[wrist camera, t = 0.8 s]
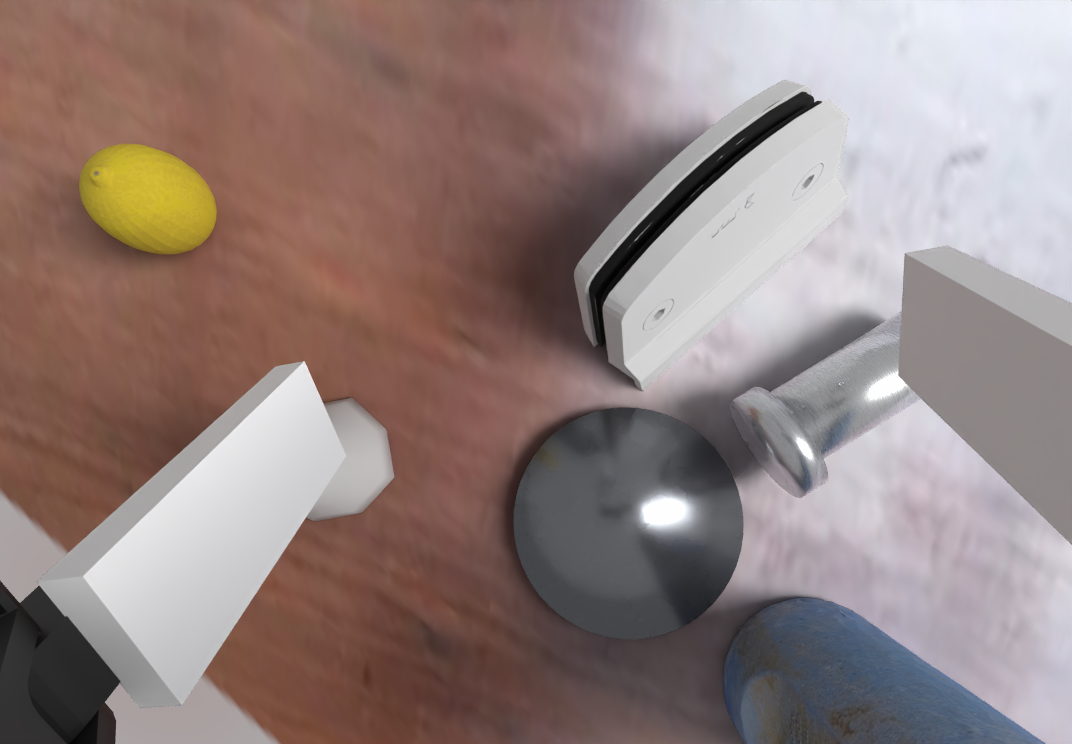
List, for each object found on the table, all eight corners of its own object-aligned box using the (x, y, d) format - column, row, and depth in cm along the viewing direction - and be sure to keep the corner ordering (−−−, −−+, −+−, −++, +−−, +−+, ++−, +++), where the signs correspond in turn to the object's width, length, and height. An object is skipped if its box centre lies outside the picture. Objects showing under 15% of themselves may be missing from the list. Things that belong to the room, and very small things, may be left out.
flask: (256, 435, 35) (134, 446, 25) (359, 377, 35) (278, 366, 25) (310, 541, 34) (208, 596, 24) (416, 482, 34) (356, 514, 24)
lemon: (171, 280, 36) (58, 244, 28) (146, 198, 36) (27, 139, 28) (254, 251, 35) (164, 206, 27) (228, 169, 36) (132, 101, 28)
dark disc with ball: (473, 481, 34) (455, 497, 28) (847, 251, 34) (908, 217, 28) (589, 674, 33) (596, 734, 27) (974, 439, 33) (1066, 446, 27)
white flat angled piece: (637, 395, 34) (613, 334, 25) (586, 343, 36) (546, 267, 27) (847, 209, 34) (900, 78, 25) (784, 166, 36) (813, 31, 27)
